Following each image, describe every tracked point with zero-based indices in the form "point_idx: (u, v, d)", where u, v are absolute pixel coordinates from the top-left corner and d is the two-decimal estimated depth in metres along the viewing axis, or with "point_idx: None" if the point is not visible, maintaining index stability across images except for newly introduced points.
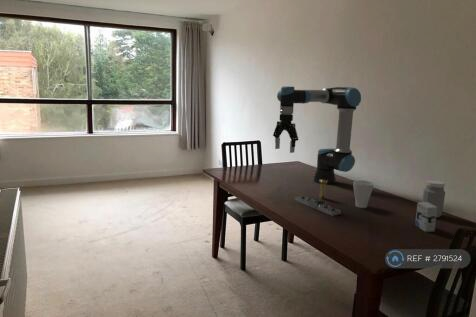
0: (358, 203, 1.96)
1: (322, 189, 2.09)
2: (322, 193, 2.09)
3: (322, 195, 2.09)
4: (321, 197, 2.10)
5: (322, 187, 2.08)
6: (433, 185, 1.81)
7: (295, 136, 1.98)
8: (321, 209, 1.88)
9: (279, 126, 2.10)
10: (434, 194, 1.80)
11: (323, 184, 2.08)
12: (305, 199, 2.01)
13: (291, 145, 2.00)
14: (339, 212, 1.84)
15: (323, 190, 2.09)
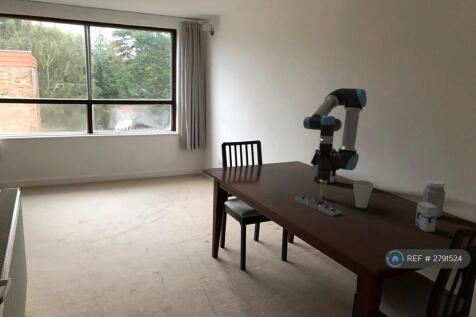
0: (358, 203, 1.96)
1: (322, 189, 2.09)
2: (322, 193, 2.09)
3: (322, 195, 2.09)
4: (321, 197, 2.10)
5: (322, 187, 2.08)
6: (433, 185, 1.81)
7: (336, 166, 1.99)
8: (321, 209, 1.88)
9: (317, 154, 2.11)
10: (434, 194, 1.80)
11: (323, 184, 2.08)
12: (305, 199, 2.01)
13: (331, 174, 2.01)
14: (339, 212, 1.84)
15: (323, 190, 2.09)
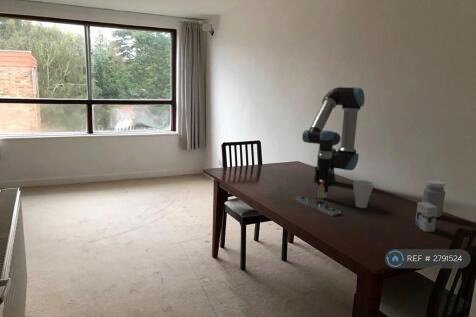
0: (358, 203, 1.96)
1: (322, 189, 2.09)
2: (322, 193, 2.09)
3: (321, 195, 2.09)
4: (321, 197, 2.10)
5: (322, 187, 2.08)
6: (433, 185, 1.81)
7: (329, 183, 2.04)
8: (321, 209, 1.88)
9: (318, 171, 2.12)
10: (434, 194, 1.80)
11: (323, 184, 2.08)
12: (305, 199, 2.01)
13: (324, 191, 2.08)
14: (339, 212, 1.84)
15: None
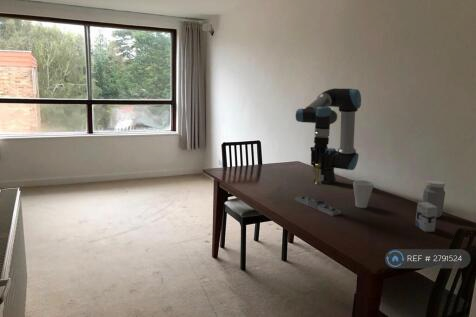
0: (358, 203, 1.96)
1: (318, 174, 1.90)
2: (318, 178, 1.91)
3: (317, 181, 1.91)
4: (317, 183, 1.91)
5: (318, 172, 1.90)
6: (433, 185, 1.81)
7: (326, 164, 1.86)
8: (321, 209, 1.88)
9: (314, 152, 1.93)
10: (434, 194, 1.80)
11: (319, 168, 1.90)
12: (305, 199, 2.01)
13: (320, 173, 1.89)
14: (339, 212, 1.84)
15: None
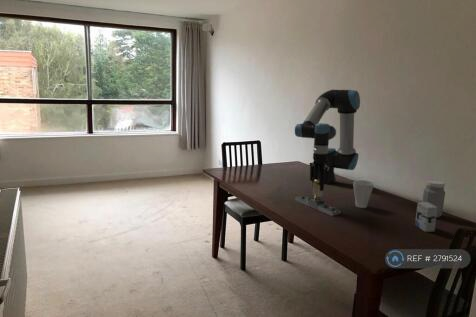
0: (358, 203, 1.96)
1: (317, 190, 1.92)
2: (317, 194, 1.92)
3: (316, 197, 1.93)
4: (316, 198, 1.93)
5: (317, 187, 1.92)
6: (433, 185, 1.81)
7: (325, 180, 1.88)
8: (321, 209, 1.88)
9: (313, 167, 1.95)
10: (434, 194, 1.80)
11: (318, 184, 1.91)
12: (305, 199, 2.01)
13: (319, 189, 1.91)
14: (339, 212, 1.84)
15: None
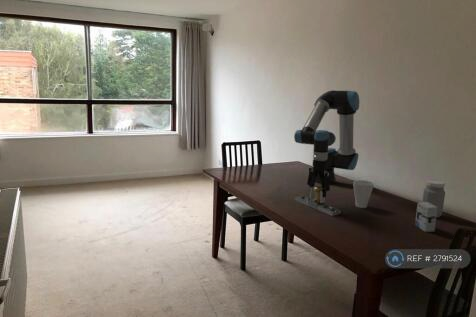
0: (358, 203, 1.96)
1: (317, 197, 1.93)
2: (317, 201, 1.93)
3: None
4: None
5: (317, 195, 1.93)
6: (433, 185, 1.81)
7: (327, 187, 1.87)
8: (321, 209, 1.88)
9: (312, 173, 1.97)
10: (434, 193, 1.81)
11: (318, 192, 1.92)
12: (305, 199, 2.01)
13: (322, 195, 1.90)
14: (339, 212, 1.84)
15: (318, 198, 1.93)
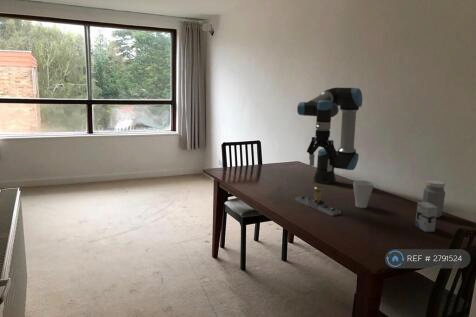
0: (358, 203, 1.96)
1: (317, 197, 1.93)
2: (317, 201, 1.93)
3: None
4: None
5: (317, 195, 1.93)
6: (433, 185, 1.81)
7: (334, 154, 1.85)
8: (321, 209, 1.88)
9: (314, 142, 1.97)
10: (434, 193, 1.80)
11: (318, 192, 1.92)
12: (305, 199, 2.01)
13: (329, 163, 1.87)
14: (339, 212, 1.84)
15: (318, 198, 1.93)
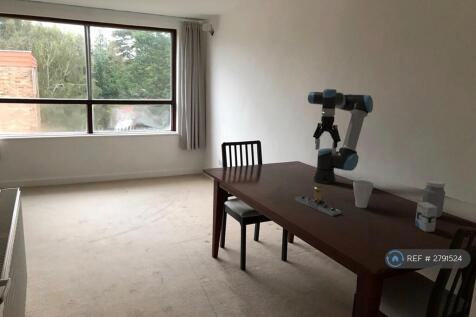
0: (358, 203, 1.96)
1: (317, 197, 1.93)
2: (317, 201, 1.93)
3: None
4: None
5: (317, 195, 1.93)
6: (433, 185, 1.81)
7: (338, 137, 2.04)
8: (321, 209, 1.88)
9: (320, 127, 2.16)
10: (434, 194, 1.80)
11: (318, 192, 1.92)
12: (305, 199, 2.01)
13: (333, 146, 2.07)
14: (339, 212, 1.84)
15: (318, 198, 1.93)
